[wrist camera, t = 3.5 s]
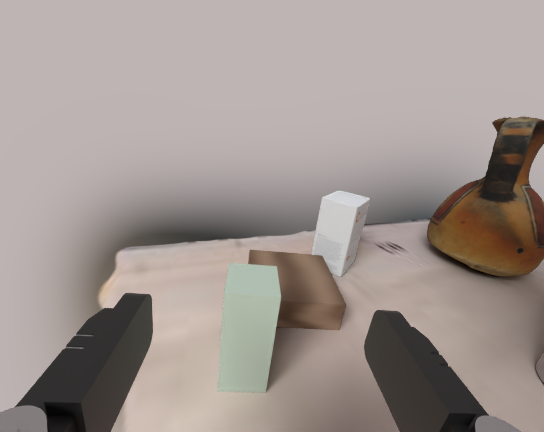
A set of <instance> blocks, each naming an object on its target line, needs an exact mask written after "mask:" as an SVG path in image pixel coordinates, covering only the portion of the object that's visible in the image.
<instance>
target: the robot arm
mask: <svg viewBox="0 0 544 432" xmlns="http://www.w3.org/2000/svg"><path fill="white" fill-rule="evenodd" d="M152 334H153V320H152V298H151V295H150V294H136V293H125V294H124V295H123V296H122V298H121V299H120V300H119V302H118V303H117V304H116V306H115V307H114V308H104V309H103V310H101V311H100V312H98V313H97V314H95V315H94V316H92V317H91V318H89V319H88V320H87V321H86V323H85V324H84V325H83V326H82V327H81V329H80V330H79V331H78V332H77V334H76V336H74V337H73V338H72V339H71V341H70V342H69V343H68V344H67V346H66V348H65V349H63V350H62V351H61V353H60V354H59V355H58V356H57V357H56V359H55V360H54V361H53V362H52V364H51V365H50V366H49V367H48V368H47V369H46V371H45V372H44V373H43V374H42V376H41V377H40V378H39V379H38V380H37V382H36V383H35V384H34V385H33V386H32V388H31V389H30V390H29V391H28V392H27V394H26V395H25V396H24V397H23V398H22V400H21V401H20V402H19V403H18V404H17V405H16V406H15V407H14V408H11V409H8V410H5V411H3V412H0V432H111V429H112V427H113V425H114V423H115V421H116V419H117V416H118V414H119V412H120V410H121V408H122V406H123V404H124V401H125V399H126V397H127V395H128V393H129V391H130V388H131V386H132V384H133V382H134V380H135V378H136V375H137V373H138V371H139V369H140V367H141V365H142V362H143V360H144V358H145V356H146V354H147V352H148V349H149V347H150V343H151V339H152ZM364 350H365V356H366V359H367V362H368V364H369V366H370V368H371V370H372V373H373V375H374V377H375V379H376V381H377V383H378V386H379V388H380V390H381V392H382V394H383V396H384V398H385V401H386V403H387V405H388V407H389V409H390V411H391V413H392V416H393V418H394V420H395V422H396V424H397V426H398V428H399V431H400V432H520V431H519V430H518V429H516V428H515V427H513V426H512V425H510V424H509V423H507V422H505V421H503V420H501V419H499V418H496V417H492V416H489V415H488V414H487V413H486V411H485V410H484V409H483V408H482V406H481V405H480V404H479V402H478V401H477V400H476V399H475V397H474V396H473V395H472V394H471V392H470V391H469V390H468V389H467V387H466V386H465V385H464V383H463V382H462V381H461V380H460V378H459V377H458V376H457V375H456V373H455V372H454V371H453V370H452V368H451V367H448V363H447V362H446V361H445V359H444V358H443V357H442V356H441V355H439V352H438V351H437V349H436V348H435V347H434V346H433V344H432V343H431V342H430V340H429V339H428V338H427V337H425V336H424V335H423V334H422V333H420V332H419V331H418V330H417V329H416V328H414V327H411V326H410V325H409V323H408V322H407V321H406V319H405V318H404V317H403V315H402V314H401V313H400V312H398V311H385V310H377V311H376V312H375V313H374V315H373V318H372V321H371V324H370V327H369V331H368V334H367V337H366V340H365V344H364ZM536 370H537V373H538V375H539V377H540V379H541V380H542V381H543V382H544V353H543V354H542V356H541V357H540V359H539V360H538V362H537V364H536Z"/></svg>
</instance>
